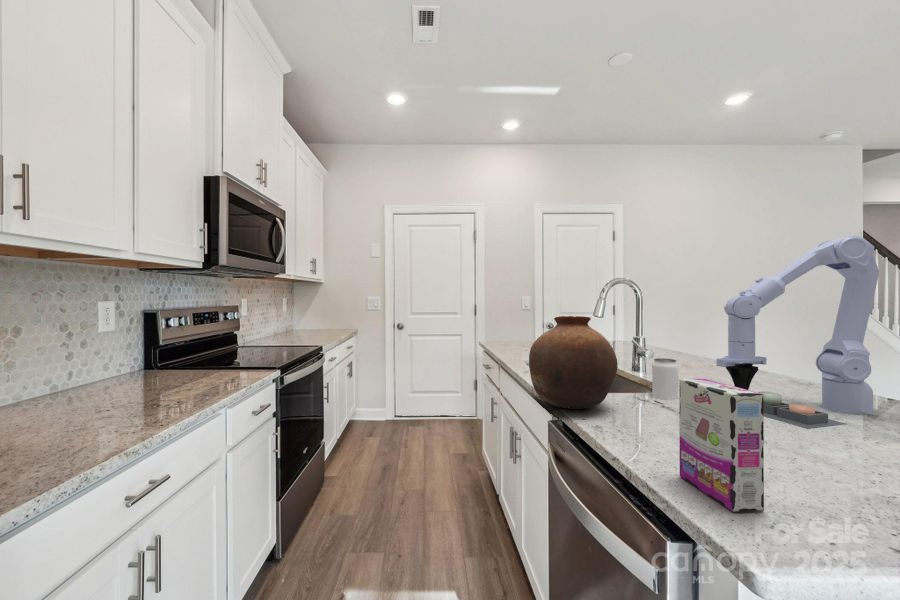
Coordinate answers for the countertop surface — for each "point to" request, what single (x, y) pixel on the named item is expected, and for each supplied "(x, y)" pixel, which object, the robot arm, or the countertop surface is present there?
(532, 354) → the pottery
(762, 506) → the candy bar box
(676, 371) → the can
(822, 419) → the panel
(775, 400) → the sage button
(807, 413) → the terracotta button
